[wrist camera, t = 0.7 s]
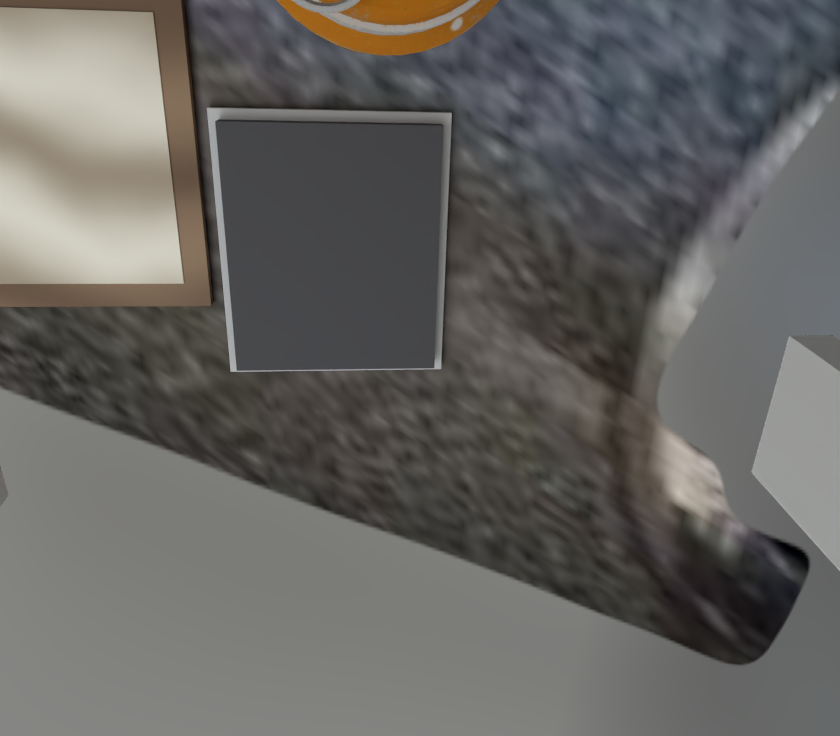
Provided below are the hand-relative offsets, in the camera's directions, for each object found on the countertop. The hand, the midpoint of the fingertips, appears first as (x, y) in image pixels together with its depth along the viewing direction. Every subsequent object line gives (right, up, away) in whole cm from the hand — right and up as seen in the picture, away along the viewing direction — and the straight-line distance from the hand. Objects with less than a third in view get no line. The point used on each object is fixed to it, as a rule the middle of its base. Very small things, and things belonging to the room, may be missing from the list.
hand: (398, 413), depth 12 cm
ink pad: (-4, +7, +25) cm, 27 cm away
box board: (-17, +11, +22) cm, 30 cm away
